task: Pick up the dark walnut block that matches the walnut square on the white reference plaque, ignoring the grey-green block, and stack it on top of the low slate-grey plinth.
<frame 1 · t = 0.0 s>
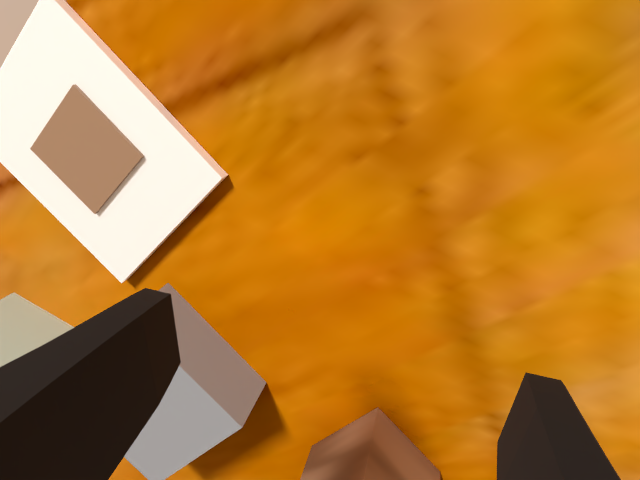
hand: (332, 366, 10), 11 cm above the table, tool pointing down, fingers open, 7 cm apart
slate plinth: (180, 363, 25), on the table
reference plaque: (96, 149, 22), on the table
grey-green block: (43, 342, 27), on the table
walnut block: (374, 457, 24), on the table
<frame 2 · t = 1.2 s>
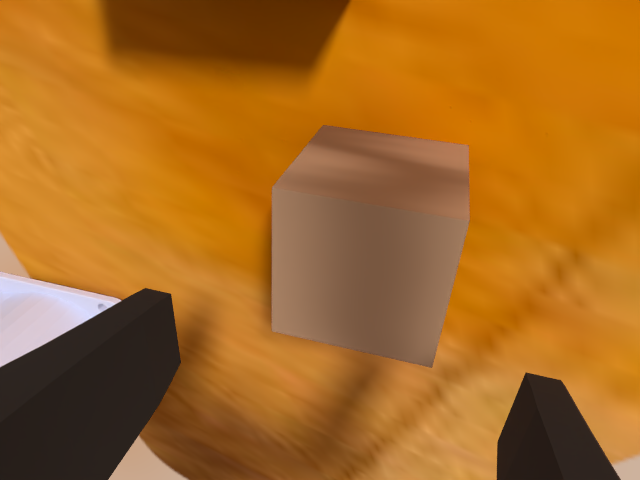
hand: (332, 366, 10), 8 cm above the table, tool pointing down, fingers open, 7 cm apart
walnut block: (384, 199, 16), on the table
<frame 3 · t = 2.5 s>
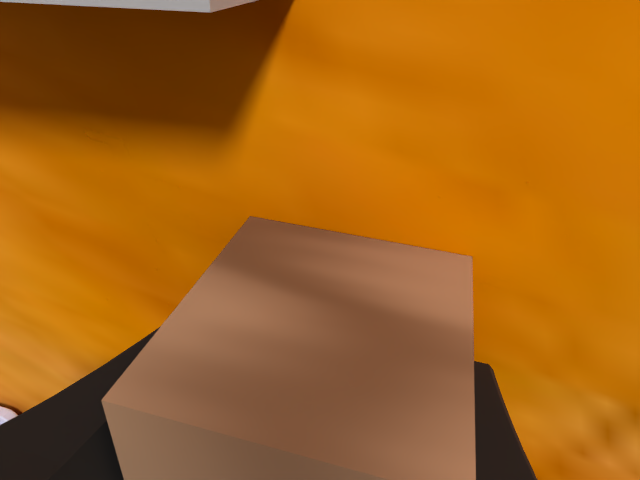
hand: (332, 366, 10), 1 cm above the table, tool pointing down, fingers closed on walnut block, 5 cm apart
walnut block: (346, 320, 11), on the table, touching gripper
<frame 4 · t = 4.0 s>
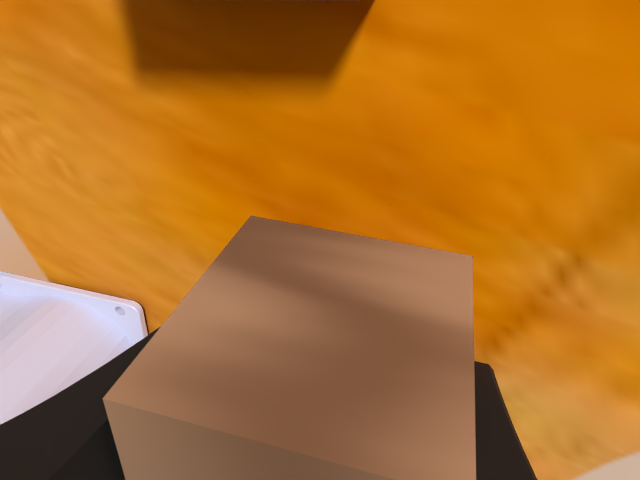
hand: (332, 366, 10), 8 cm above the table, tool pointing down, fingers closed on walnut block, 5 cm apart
walnut block: (347, 320, 11), point 7 cm above the table, touching gripper
when the fingers open (6 cm above the table, at t = 5.5 s): walnut block drops 1 cm, resting on slate plinth.
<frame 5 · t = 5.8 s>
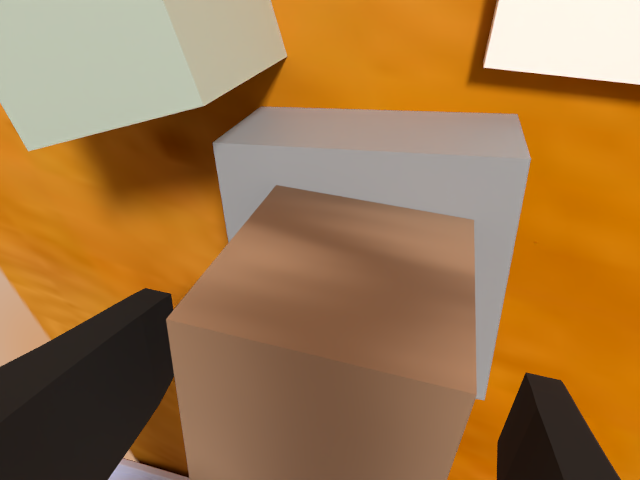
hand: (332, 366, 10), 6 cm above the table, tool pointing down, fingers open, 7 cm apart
slate plinth: (379, 217, 15), on the table, touching walnut block
walnut block: (360, 281, 12), point 3 cm above the table, touching slate plinth
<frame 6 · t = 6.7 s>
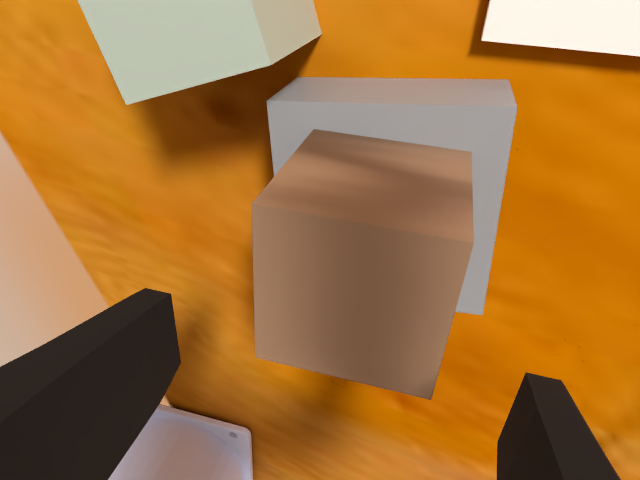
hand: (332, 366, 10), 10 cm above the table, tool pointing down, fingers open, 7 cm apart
slate plinth: (395, 171, 18), on the table, touching walnut block
walnut block: (380, 209, 15), point 3 cm above the table, touching slate plinth
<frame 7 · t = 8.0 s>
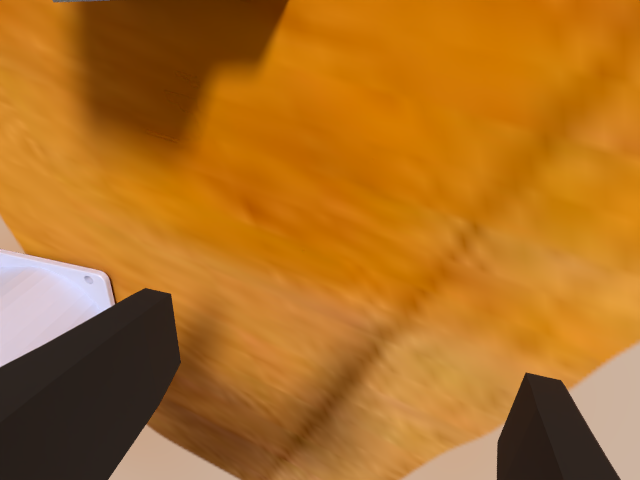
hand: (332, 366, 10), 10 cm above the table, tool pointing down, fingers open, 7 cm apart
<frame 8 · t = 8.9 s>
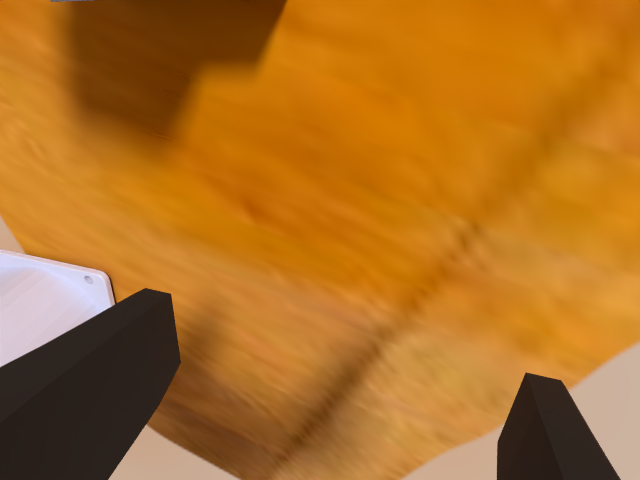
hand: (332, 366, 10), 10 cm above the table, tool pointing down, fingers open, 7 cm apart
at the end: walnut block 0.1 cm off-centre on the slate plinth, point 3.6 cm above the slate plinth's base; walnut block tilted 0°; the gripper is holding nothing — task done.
